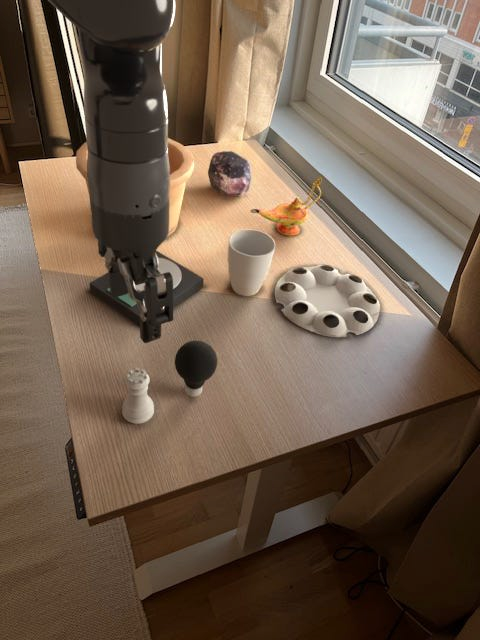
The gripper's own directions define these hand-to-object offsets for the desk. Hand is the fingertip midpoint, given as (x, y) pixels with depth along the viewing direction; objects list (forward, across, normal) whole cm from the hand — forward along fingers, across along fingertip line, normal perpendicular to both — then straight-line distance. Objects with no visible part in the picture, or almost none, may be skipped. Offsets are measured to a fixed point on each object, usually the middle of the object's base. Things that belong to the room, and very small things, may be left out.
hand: (135, 315), depth 60 cm
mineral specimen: (+19, -48, +44) cm, 68 cm away
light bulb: (+19, +1, +8) cm, 20 cm away
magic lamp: (+19, -30, +47) cm, 58 cm away
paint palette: (+19, -7, +41) cm, 46 cm away
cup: (+19, -17, +29) cm, 38 cm away
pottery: (+19, -44, +20) cm, 52 cm away
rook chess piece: (+19, 0, 0) cm, 19 cm away
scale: (+18, -24, +13) cm, 33 cm away
